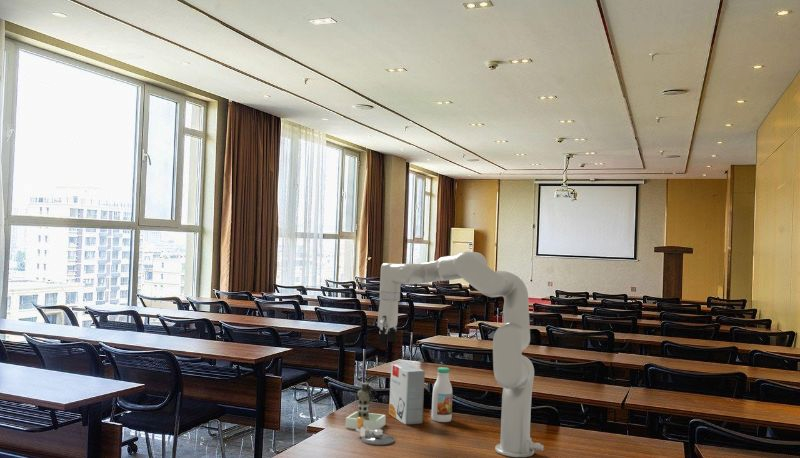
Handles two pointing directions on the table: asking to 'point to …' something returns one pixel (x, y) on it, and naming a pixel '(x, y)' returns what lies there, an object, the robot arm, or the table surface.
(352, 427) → the tray
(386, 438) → the crank base
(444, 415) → the milk bottle
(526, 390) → the robot arm
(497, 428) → the table surface
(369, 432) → the crank lever
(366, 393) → the grenade model
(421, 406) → the hard drive box
